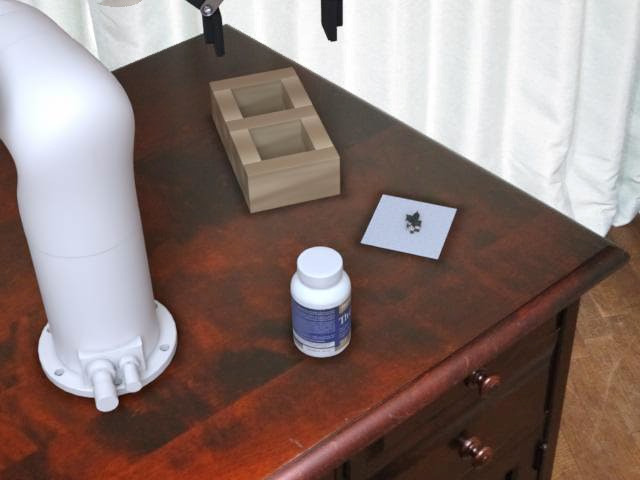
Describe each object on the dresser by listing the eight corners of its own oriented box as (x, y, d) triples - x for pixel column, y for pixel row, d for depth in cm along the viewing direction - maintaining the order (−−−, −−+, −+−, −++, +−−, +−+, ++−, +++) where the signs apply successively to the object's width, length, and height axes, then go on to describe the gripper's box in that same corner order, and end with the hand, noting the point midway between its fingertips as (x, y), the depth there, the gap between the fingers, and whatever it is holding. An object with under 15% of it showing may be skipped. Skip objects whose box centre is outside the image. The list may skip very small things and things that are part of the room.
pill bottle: (351, 359, 104) (351, 282, 98) (292, 359, 104) (288, 283, 98) (351, 316, 108) (350, 240, 102) (294, 317, 108) (290, 240, 102)
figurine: (399, 217, 119) (399, 203, 117) (425, 222, 118) (426, 208, 117) (392, 231, 117) (393, 217, 116) (419, 237, 116) (420, 223, 115)
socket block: (340, 194, 122) (339, 157, 118) (250, 213, 120) (247, 176, 116) (294, 102, 134) (292, 66, 131) (212, 118, 132) (208, 82, 129)
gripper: (155, -121, 82) (178, 79, 94) (388, -147, 85) (383, 50, 96) (144, -163, 88) (167, 31, 99) (363, -186, 90) (361, 6, 102)
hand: (274, 40), depth 98 cm, fingers open, 9 cm apart
